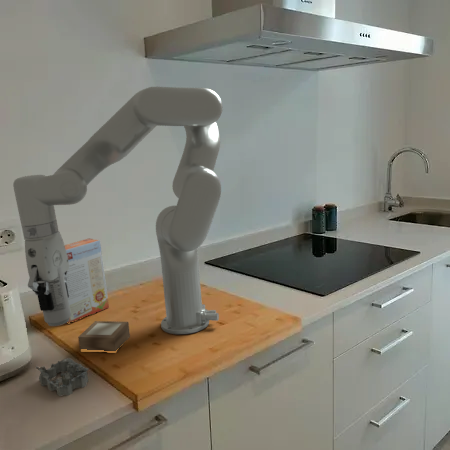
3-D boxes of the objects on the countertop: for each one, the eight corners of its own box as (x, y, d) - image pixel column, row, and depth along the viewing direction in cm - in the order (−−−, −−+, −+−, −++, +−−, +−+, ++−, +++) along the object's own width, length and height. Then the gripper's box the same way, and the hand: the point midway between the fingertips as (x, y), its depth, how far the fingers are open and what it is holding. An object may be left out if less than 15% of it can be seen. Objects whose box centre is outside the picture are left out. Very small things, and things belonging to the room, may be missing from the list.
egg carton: (35, 383, 101) (32, 366, 101) (68, 369, 107) (65, 352, 106) (60, 400, 94) (57, 382, 93) (93, 384, 99) (91, 366, 99)
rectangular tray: (130, 336, 120) (128, 321, 120) (115, 353, 112) (113, 337, 111) (97, 335, 122) (95, 320, 121) (80, 352, 114) (78, 336, 113)
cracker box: (97, 304, 144) (88, 237, 140) (109, 308, 140) (101, 239, 136) (56, 320, 134) (45, 249, 129) (68, 325, 130) (57, 251, 126)
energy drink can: (75, 315, 116) (64, 256, 112) (66, 326, 110) (54, 264, 106) (51, 317, 116) (39, 258, 113) (41, 328, 110) (28, 266, 107)
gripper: (34, 239, 99) (50, 319, 103) (74, 220, 115) (86, 289, 119) (2, 241, 100) (19, 320, 104) (46, 222, 117) (59, 290, 121)
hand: (55, 303), depth 112 cm, fingers closed on energy drink can, 6 cm apart
